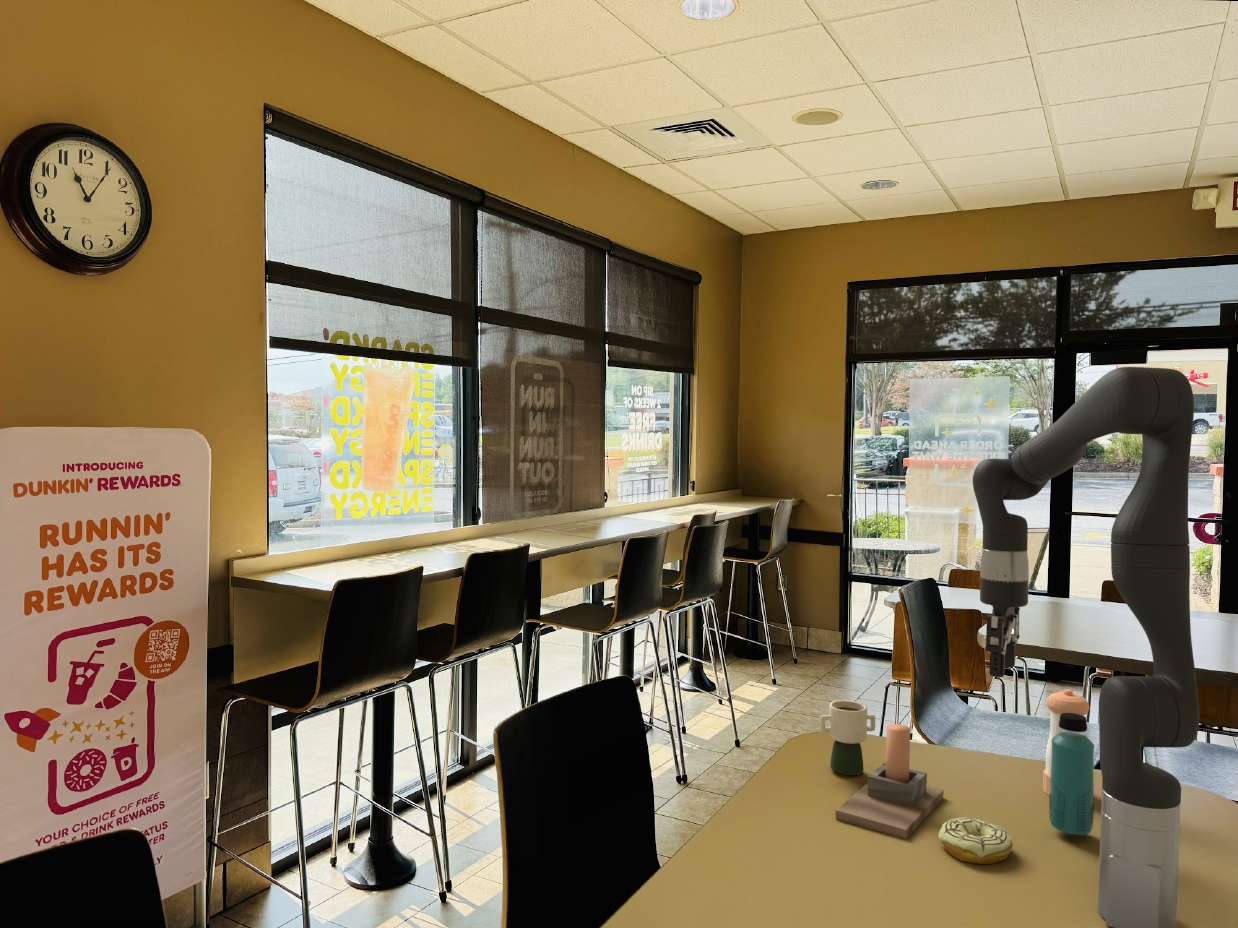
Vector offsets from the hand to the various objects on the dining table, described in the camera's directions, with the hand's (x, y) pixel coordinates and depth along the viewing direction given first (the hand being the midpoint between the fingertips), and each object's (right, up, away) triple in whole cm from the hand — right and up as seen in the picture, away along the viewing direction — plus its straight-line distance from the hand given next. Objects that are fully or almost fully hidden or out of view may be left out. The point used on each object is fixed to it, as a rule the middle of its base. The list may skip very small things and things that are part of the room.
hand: (1002, 671), depth 152 cm
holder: (-18, -25, +4) cm, 31 cm away
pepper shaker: (+16, -25, +11) cm, 32 cm away
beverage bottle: (+9, -26, -5) cm, 28 cm away
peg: (-16, -23, +7) cm, 29 cm away
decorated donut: (-9, -26, -11) cm, 30 cm away
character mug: (-21, -24, +20) cm, 38 cm away
